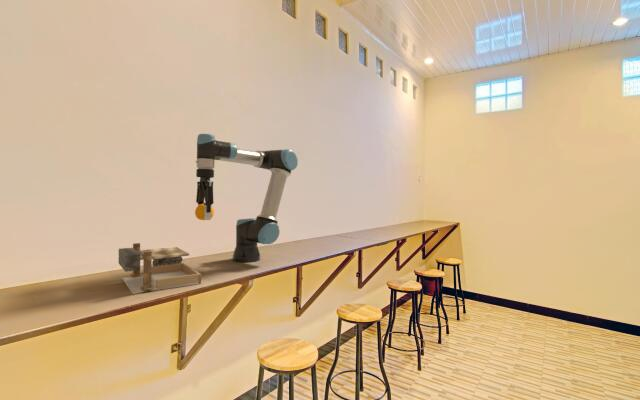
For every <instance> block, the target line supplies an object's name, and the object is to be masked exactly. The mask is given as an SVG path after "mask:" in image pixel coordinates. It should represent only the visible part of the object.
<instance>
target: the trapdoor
mask: <svg viewBox="0 0 640 400" xmlns="http://www.w3.org/2000/svg"><path fill="white" fill-rule="evenodd" d="M146 251H151V252H152V260H153V259H160V258H170V257H180V256H181V257H188V256H190V253H189V252H187V251H185V250H183V249H181V248H179V247H178V246H175V247H163V248H152V249H151V248H149V249H140V251H139V250H138V249H137V250H135V249H133V247H124V248H123V247H122V248H118V264H119V266H120V267H121V268H122V270H123V271H124V272H125V273H127V272H133V271H136V270H140V271H141V261H142V260H143V256H144V252H146Z"/></svg>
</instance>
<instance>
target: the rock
mask: <svg viewBox="0 0 640 400" xmlns="http://www.w3.org/2000/svg"><path fill="white" fill-rule="evenodd" d="M181 263H183V256H180V257H170V258H160V259H152V267H154V266H163V265H172V264H181Z"/></svg>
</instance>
